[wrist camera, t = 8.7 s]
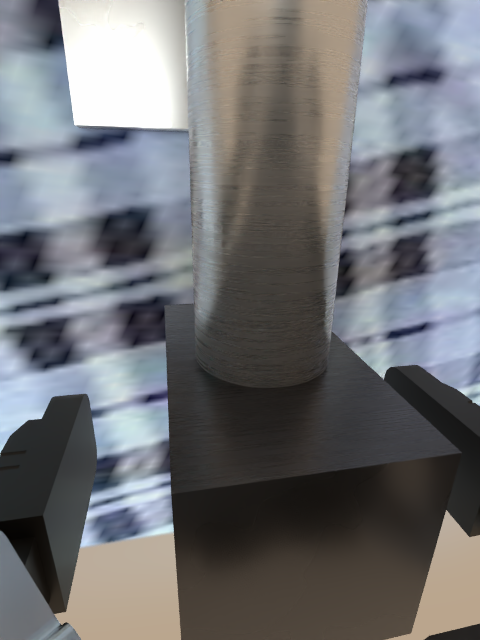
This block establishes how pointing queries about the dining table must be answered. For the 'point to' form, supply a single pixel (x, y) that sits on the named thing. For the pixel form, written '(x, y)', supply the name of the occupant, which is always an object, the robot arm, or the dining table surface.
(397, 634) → the shaft
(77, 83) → the pillow blocks
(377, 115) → the dining table surface
